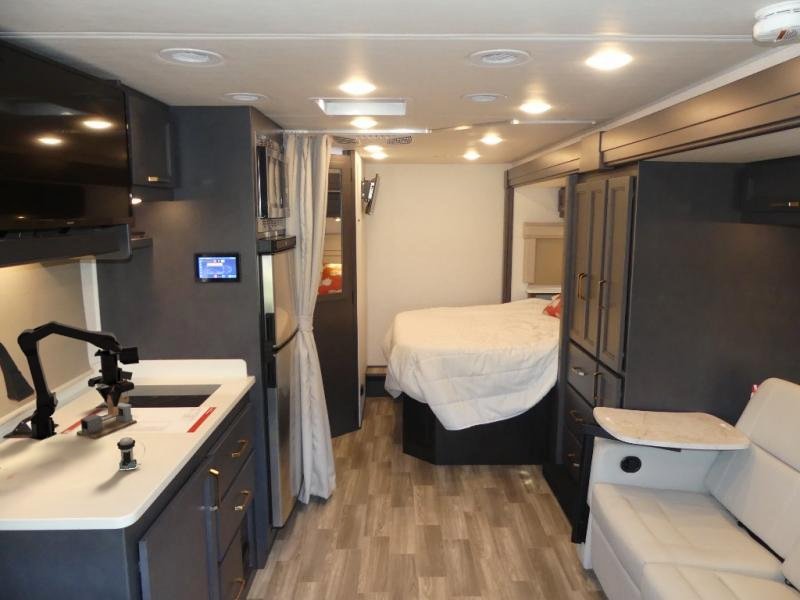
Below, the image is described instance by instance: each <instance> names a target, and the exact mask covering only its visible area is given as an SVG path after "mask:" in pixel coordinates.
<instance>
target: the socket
mask: <svg viewBox="0 0 800 600" xmlns="http://www.w3.org/2000/svg"><path fill="white" fill-rule="evenodd" d="M131 408H132V404H130V403H119V404H118V410H119V409H123V414H122V415H120V416H117V417H116V420H119V421H123V422H128V421H130V420H134V419H133V414H132V409H131Z"/></svg>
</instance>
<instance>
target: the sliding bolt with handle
mask: <svg viewBox="0 0 800 600" xmlns="http://www.w3.org/2000/svg"><path fill="white" fill-rule="evenodd" d="M106 406H107V413H106V414H104V415H101V416H102V422H105V421H108V420H110V419H113V418H115V417H117V416H120V415H122V414H123V409H119V410H118V406H117V407H114V405H113V403H112V400H111V397H110V394H107V405H106Z"/></svg>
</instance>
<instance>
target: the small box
mask: <svg viewBox="0 0 800 600" xmlns="http://www.w3.org/2000/svg"><path fill="white" fill-rule="evenodd" d="M124 381H128V380H126V379H123V381H119V383H120V382H124ZM113 385H114V384H113ZM112 390H113V388H112ZM112 390H111V391H112ZM119 403H126V404H129V391H127V392H124V393H122V394H121V396H120V399H119ZM119 403H118V404H119ZM103 404H104V405H105V406H107V403H106V402H105V400H104V399H103Z"/></svg>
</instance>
